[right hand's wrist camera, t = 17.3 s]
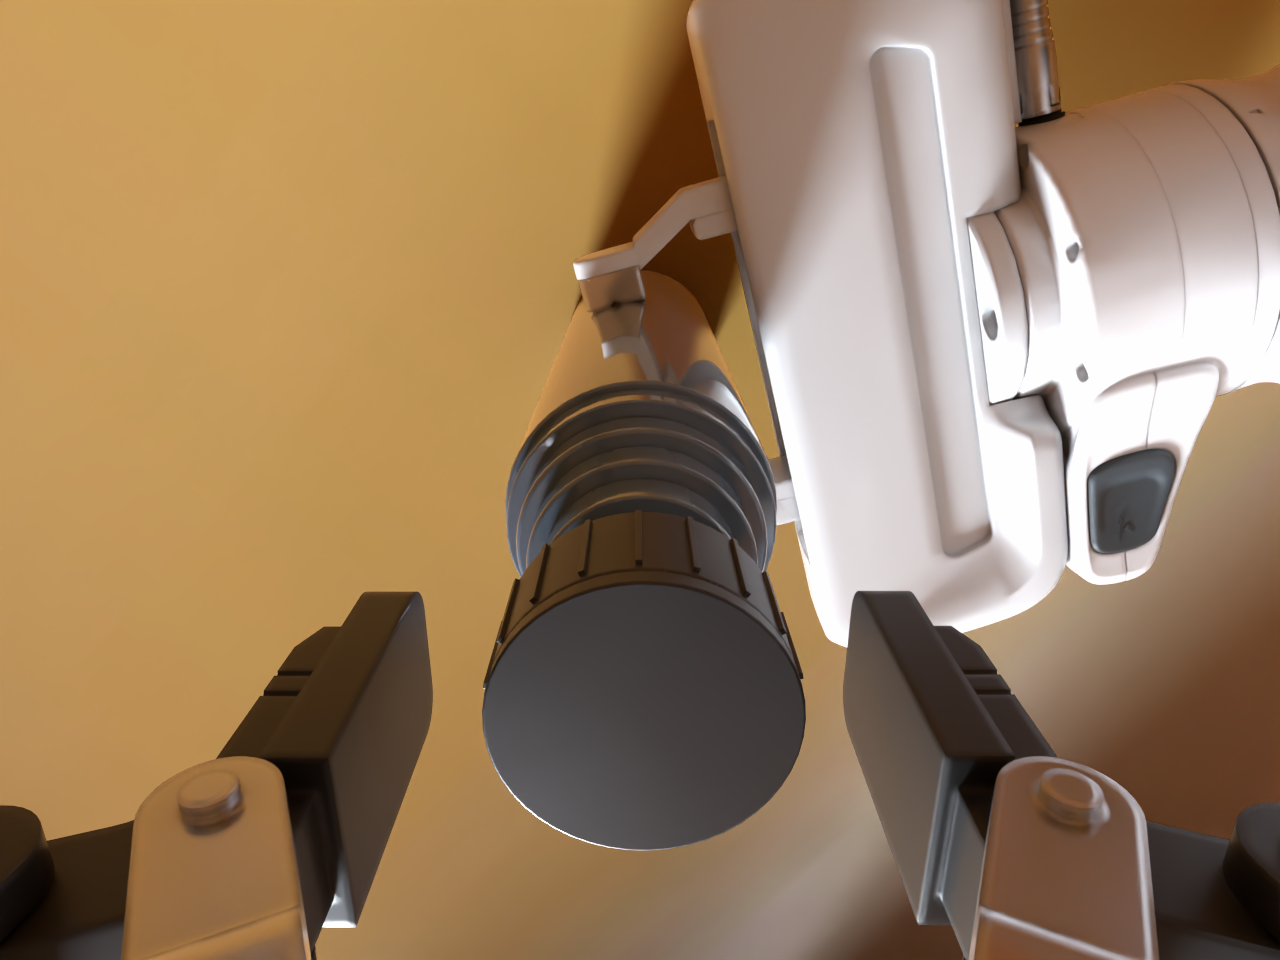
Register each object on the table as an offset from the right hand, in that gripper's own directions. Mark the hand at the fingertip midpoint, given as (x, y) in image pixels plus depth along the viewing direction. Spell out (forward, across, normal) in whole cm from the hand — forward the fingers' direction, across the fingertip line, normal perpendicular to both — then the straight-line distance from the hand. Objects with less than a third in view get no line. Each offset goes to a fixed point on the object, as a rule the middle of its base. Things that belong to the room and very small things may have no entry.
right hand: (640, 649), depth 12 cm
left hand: (+15, -1, 0) cm, 15 cm away
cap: (-2, 0, 0) cm, 2 cm away
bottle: (+21, 0, 0) cm, 21 cm away
